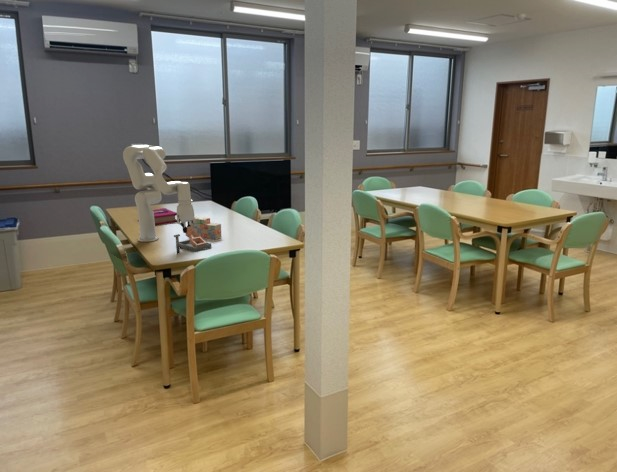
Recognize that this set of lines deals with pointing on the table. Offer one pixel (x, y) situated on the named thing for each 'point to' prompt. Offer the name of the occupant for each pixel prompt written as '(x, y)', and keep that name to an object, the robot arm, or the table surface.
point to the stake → (177, 242)
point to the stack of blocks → (206, 228)
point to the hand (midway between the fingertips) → (187, 232)
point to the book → (164, 216)
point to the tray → (188, 246)
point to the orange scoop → (194, 240)
